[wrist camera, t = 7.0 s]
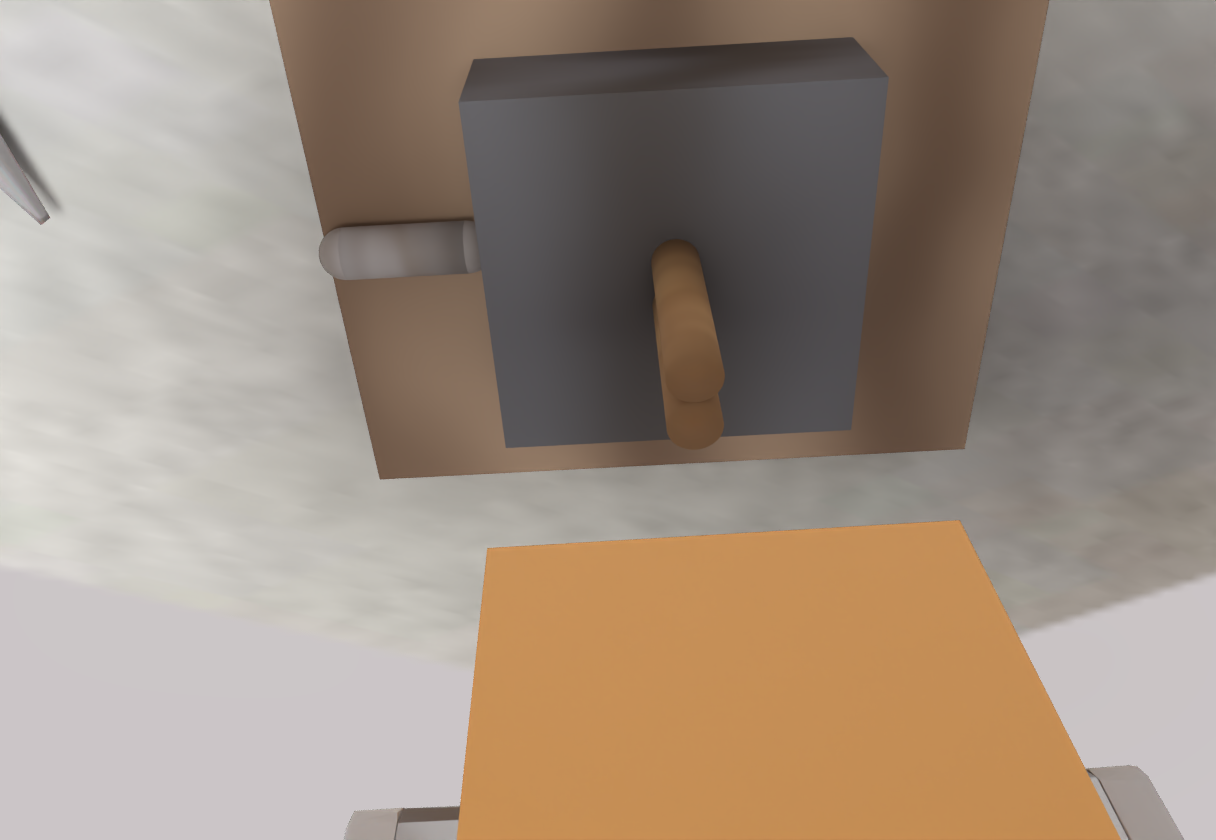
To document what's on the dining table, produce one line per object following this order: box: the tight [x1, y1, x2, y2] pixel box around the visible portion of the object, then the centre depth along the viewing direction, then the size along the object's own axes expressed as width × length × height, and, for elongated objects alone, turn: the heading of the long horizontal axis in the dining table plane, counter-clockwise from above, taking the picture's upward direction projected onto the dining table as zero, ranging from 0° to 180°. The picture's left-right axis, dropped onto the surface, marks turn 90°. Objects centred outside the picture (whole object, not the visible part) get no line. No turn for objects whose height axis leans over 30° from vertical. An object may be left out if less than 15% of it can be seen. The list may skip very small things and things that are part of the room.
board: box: [269, 0, 1049, 479], centre depth 21 cm, size 16×14×10 cm
